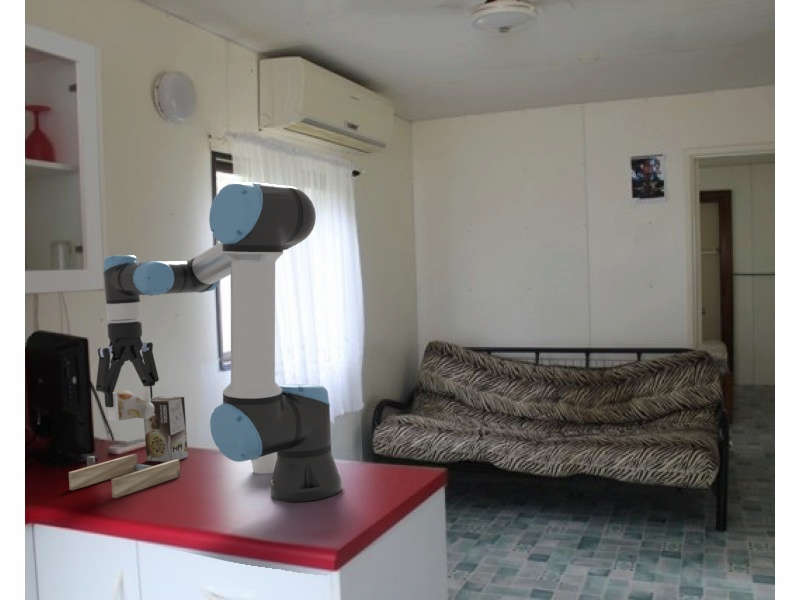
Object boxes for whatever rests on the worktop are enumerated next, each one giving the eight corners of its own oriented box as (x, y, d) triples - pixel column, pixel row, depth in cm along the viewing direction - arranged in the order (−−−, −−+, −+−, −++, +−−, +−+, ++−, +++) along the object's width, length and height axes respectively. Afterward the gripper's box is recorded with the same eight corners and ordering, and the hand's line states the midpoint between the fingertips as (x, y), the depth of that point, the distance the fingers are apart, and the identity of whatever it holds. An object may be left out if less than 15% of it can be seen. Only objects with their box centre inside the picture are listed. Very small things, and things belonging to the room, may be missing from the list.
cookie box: (189, 456, 194) (185, 396, 193) (172, 463, 188) (168, 400, 187) (162, 454, 197) (158, 395, 197) (145, 461, 192) (141, 399, 191)
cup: (291, 465, 179) (289, 417, 179) (278, 475, 170) (275, 424, 170) (257, 465, 181) (254, 417, 181) (242, 475, 172) (239, 425, 172)
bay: (180, 476, 174) (179, 459, 174) (116, 497, 159) (114, 479, 159) (134, 469, 183) (133, 453, 183) (69, 489, 168) (68, 472, 167)
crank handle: (120, 469, 185) (119, 448, 185) (126, 470, 184) (125, 448, 184) (85, 479, 177) (83, 457, 176) (91, 480, 175) (90, 458, 175)
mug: (151, 422, 169) (126, 387, 167) (120, 440, 171) (94, 405, 170) (165, 408, 176) (141, 374, 174) (135, 425, 178) (111, 392, 177)
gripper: (150, 318, 183) (156, 407, 183) (73, 325, 164) (80, 424, 165) (171, 317, 179) (176, 409, 180) (94, 325, 161) (101, 427, 161)
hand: (130, 416), depth 172 cm, fingers closed on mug, 9 cm apart
